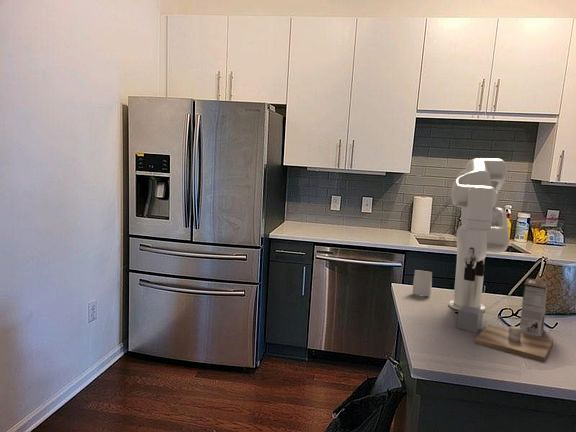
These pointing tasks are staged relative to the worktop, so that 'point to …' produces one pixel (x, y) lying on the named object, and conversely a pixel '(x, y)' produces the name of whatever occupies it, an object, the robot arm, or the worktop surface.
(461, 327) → the grey cube
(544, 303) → the coffee box
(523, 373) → the worktop surface
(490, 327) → the dock
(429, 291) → the grey rectangular block
